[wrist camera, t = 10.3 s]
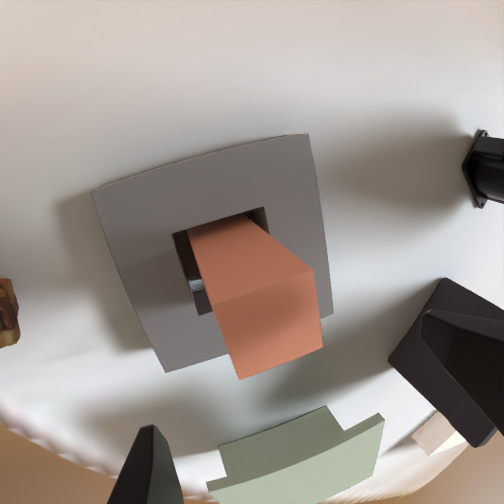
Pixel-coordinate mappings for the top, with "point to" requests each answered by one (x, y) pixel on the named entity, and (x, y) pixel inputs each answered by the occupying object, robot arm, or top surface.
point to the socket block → (200, 212)
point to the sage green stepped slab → (298, 461)
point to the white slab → (437, 435)
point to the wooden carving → (8, 314)
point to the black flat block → (434, 374)
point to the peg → (256, 294)
